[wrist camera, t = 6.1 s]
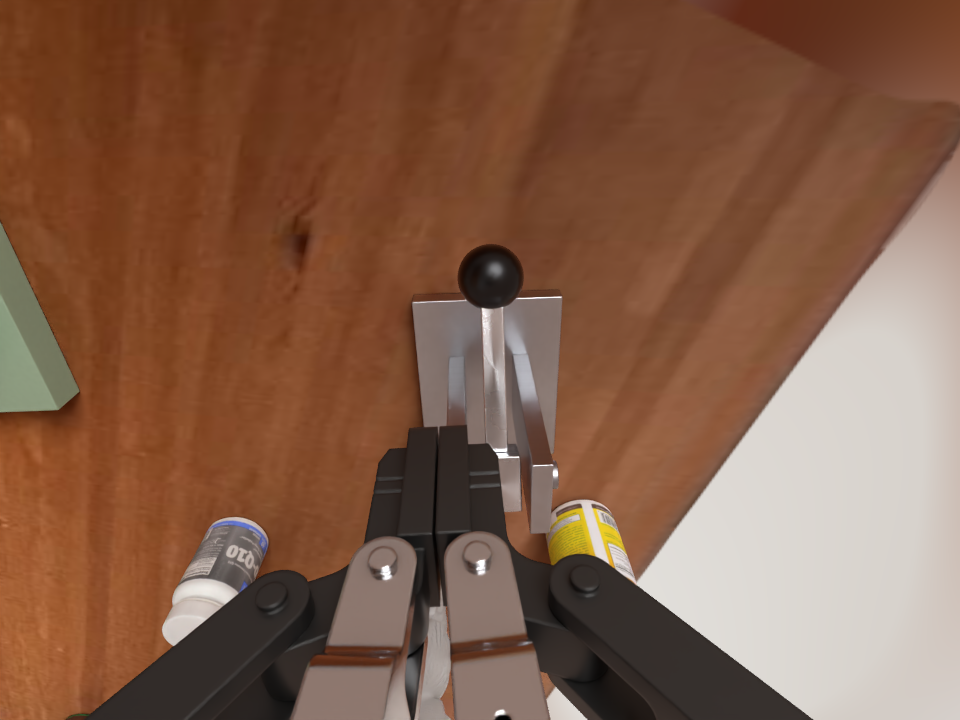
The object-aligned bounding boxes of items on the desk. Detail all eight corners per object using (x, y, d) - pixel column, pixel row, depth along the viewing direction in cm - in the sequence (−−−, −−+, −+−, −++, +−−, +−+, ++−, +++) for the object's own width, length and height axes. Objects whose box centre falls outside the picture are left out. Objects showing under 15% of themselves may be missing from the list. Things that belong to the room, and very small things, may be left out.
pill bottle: (281, 546, 43) (245, 646, 36) (231, 563, 44) (186, 664, 36) (247, 507, 41) (201, 605, 33) (195, 525, 42) (139, 625, 34)
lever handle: (457, 248, 27) (455, 241, 24) (519, 246, 27) (526, 239, 24) (467, 493, 29) (466, 517, 26) (526, 491, 29) (533, 514, 26)
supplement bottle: (537, 542, 44) (557, 666, 35) (552, 492, 41) (578, 612, 32) (602, 548, 44) (638, 671, 35) (622, 499, 42) (666, 618, 33)
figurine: (443, 594, 46) (436, 802, 33) (398, 588, 46) (373, 798, 33) (467, 516, 42) (470, 722, 29) (417, 509, 41) (398, 716, 28)
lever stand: (413, 294, 33) (392, 402, 22) (559, 288, 33) (604, 393, 23) (427, 448, 39) (416, 590, 28) (551, 443, 39) (584, 582, 28)
